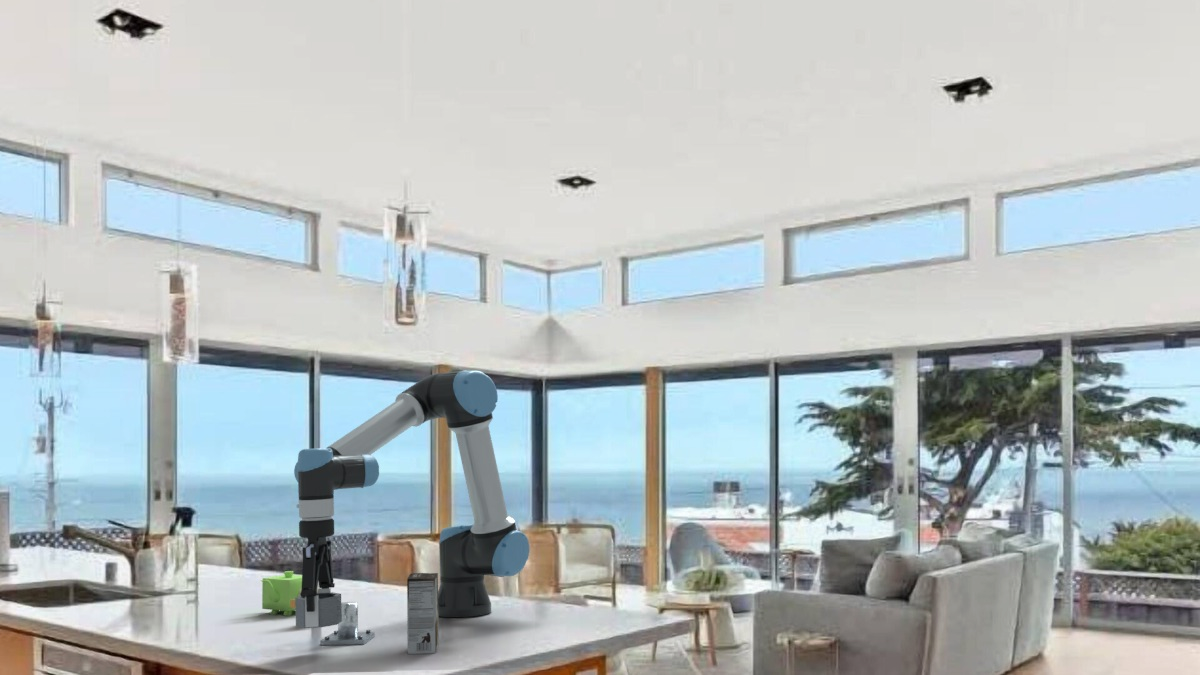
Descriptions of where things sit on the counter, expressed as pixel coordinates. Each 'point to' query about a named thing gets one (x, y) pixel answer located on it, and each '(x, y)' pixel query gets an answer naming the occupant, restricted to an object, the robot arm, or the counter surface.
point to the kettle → (280, 592)
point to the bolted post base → (348, 628)
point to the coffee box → (422, 613)
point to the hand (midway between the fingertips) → (318, 622)
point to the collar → (320, 609)
